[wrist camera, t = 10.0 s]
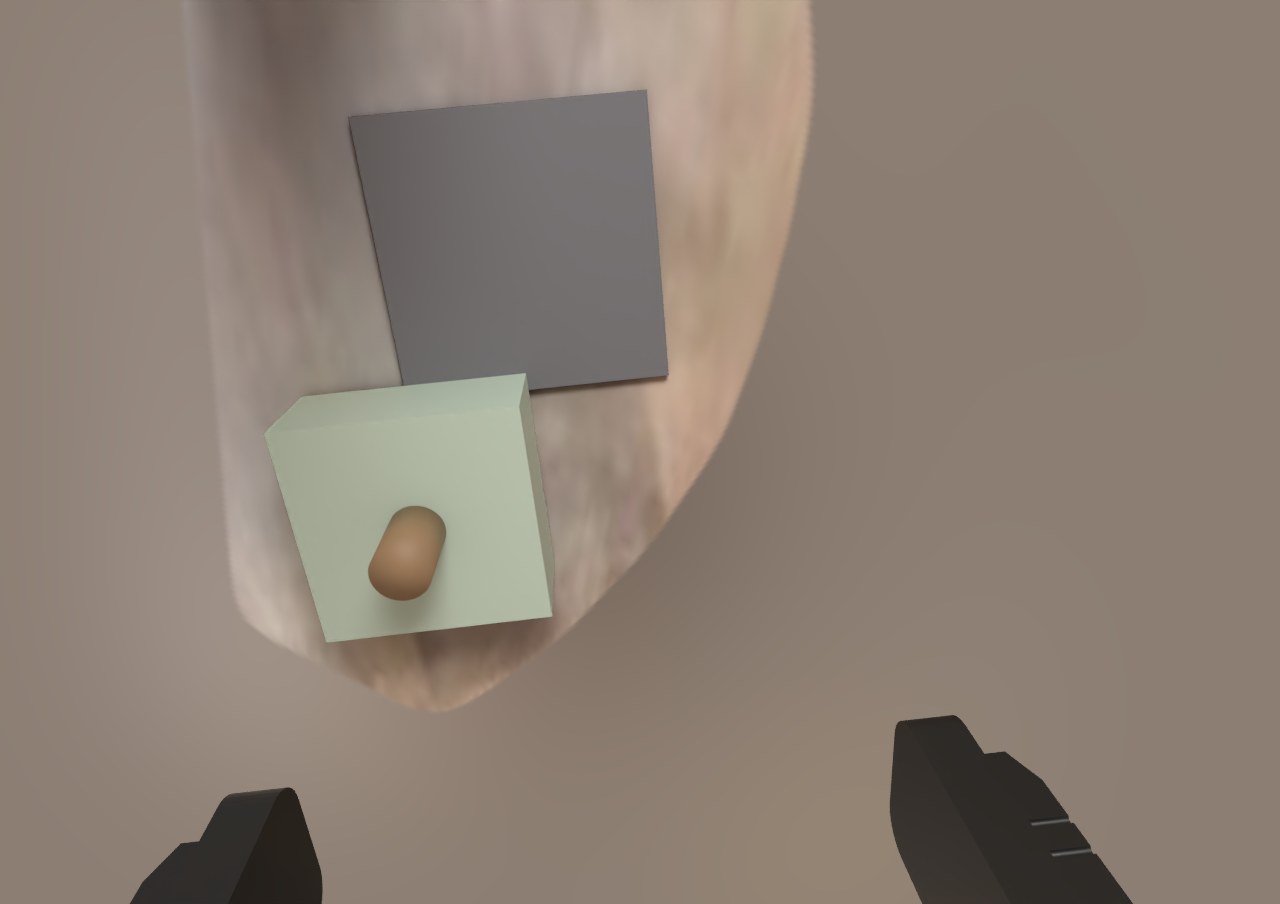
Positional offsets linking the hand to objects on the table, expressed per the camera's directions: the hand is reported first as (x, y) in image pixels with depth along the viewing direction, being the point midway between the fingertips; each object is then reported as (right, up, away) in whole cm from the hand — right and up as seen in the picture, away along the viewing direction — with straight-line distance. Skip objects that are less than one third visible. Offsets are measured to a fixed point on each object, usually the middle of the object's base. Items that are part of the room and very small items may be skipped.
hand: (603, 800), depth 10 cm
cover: (-11, +3, +33) cm, 34 cm away
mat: (-6, +15, +29) cm, 33 cm away
